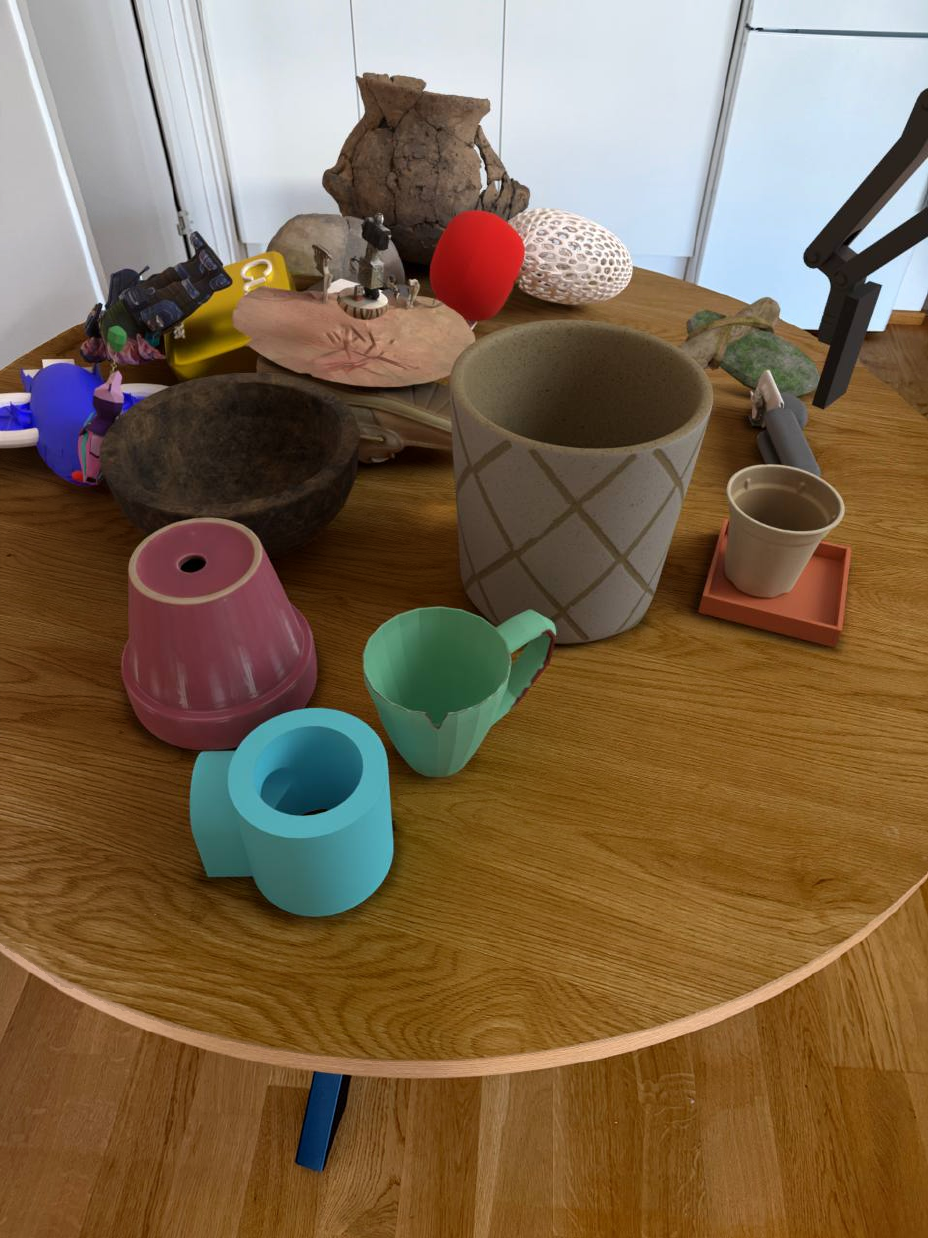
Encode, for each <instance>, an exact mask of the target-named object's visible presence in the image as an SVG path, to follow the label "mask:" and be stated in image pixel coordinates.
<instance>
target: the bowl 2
mask: <svg viewBox="0 0 928 1238" xmlns="http://www.w3.org/2000/svg"><path fill="white" fill-rule="evenodd" d="M363 222H364V220H362V219H359V218H355V217H351V216H345V217H342V214H335V213H317V212H313V213H300V214H296V215H294V216H293V217H291V218H290V219H288V220H287V221H286V222H285V223H284V224H283V225H282V226H280V227H279V228H278V230H277V231H276V232H275V234H274V235H273V236H272V237H271V239H270V240H269V243H268V244H267V247H266V250H265V252H270V251H276V252H278V253H280V254H281V255H282V256H283V258H284V260H285V262H286V265H287V267H288V269H289V272H290V274H291V276H302V277H303V276H305V277H314V278H316V277H320V278H324V275H323V274H321V273H320V272H319V270H317V269H316V266H317V265H316V263H315V261H314V258H313V256H314V250H313V248H312V245H313V244H320V245H322V246H324V247H325V248H326V249H327V250H328V251H329V253H330V254H331V255H332V258H333V260H330V258H329V259H328V271H329V273H330V274H332V275H333V277H332V280H335V281H337V280H339V279H341V278H346V277H348V276H350V275H352V274H351V273H350V271H349V268H350V267H351V266H350V264H349V262H350V257H351V256H352V257H353V258H354V256H356V259H357V260H359V257H360V256H365V254H366V248H367V244H368V242H367V241H366V240H364V239H363V238H362V226H361V224H362V223H363ZM380 261H381V262H383V263H384V272H383V282H384V283H385V284H386V285H387V276H388V275H393V276H395V277H396V279H397V284H404V285H406V275H405V269H404V265H403V262H402V260H401V259H400V257H399V255H398V252H397V250H396V248H395V246H394V244H393V242H392V241H391V240H389V245H388V249H386V250H384V251H383V252H382V251H381V255H380ZM352 266H354V267H356V269H357V273H358V272H359V264H358V262H357V261H356V260H355V261H354V262H352ZM397 284H396V285H397ZM382 287H385V285H384V284H383V283H382ZM382 287H381V288H382Z"/></svg>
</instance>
